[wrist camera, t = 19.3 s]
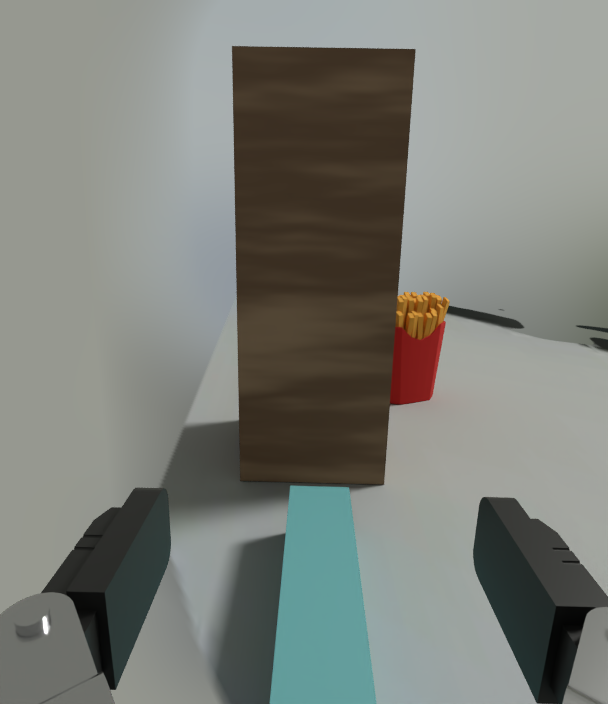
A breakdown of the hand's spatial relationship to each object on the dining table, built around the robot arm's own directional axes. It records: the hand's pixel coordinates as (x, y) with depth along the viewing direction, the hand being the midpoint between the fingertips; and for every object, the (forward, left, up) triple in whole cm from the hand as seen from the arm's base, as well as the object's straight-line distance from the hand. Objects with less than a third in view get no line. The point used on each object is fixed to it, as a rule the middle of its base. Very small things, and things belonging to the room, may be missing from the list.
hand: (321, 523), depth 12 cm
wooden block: (+31, 0, -14) cm, 34 cm away
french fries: (+46, -12, -14) cm, 49 cm away
